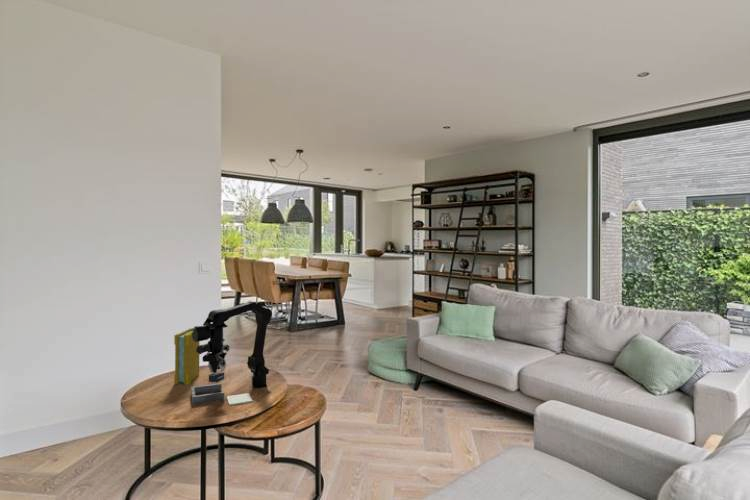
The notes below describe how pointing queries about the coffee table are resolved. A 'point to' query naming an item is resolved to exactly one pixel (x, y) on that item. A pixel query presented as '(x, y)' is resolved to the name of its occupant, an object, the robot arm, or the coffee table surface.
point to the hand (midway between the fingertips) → (216, 370)
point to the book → (185, 357)
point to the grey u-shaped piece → (206, 397)
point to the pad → (239, 399)
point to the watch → (218, 375)
